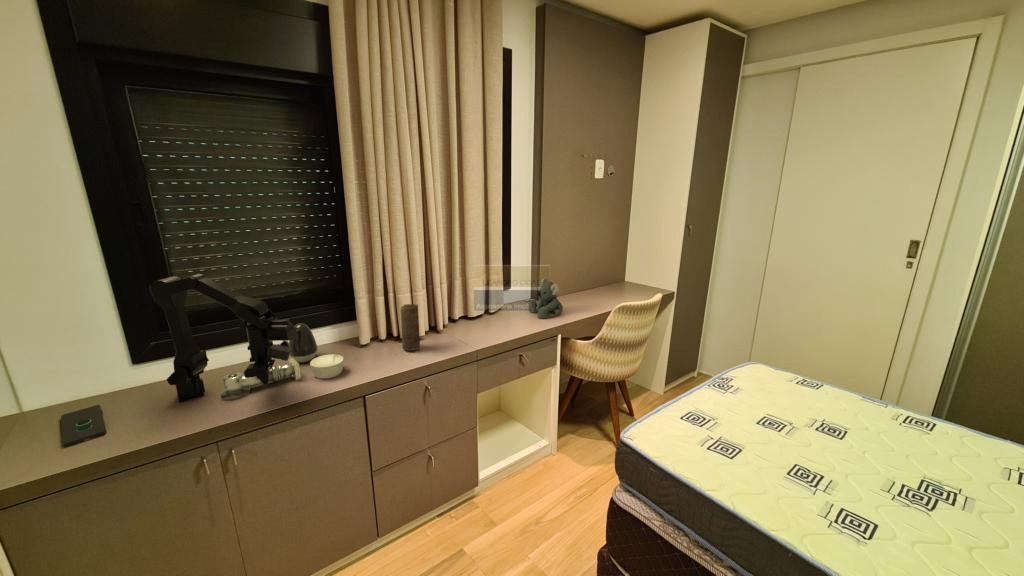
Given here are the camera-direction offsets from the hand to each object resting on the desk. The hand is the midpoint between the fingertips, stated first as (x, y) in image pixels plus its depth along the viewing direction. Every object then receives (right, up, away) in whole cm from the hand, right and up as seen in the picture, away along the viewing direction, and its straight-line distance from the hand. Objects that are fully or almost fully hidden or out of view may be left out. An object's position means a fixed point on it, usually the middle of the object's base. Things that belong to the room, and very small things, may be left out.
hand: (266, 384), depth 129 cm
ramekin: (+13, 0, +16) cm, 21 cm away
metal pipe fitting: (-5, -2, +6) cm, 8 cm away
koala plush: (+101, +17, +90) cm, 136 cm away
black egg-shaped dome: (-2, +3, +27) cm, 27 cm away
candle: (+38, +5, +39) cm, 55 cm away
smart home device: (-41, -8, -17) cm, 45 cm away
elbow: (-7, -2, +4) cm, 9 cm away
